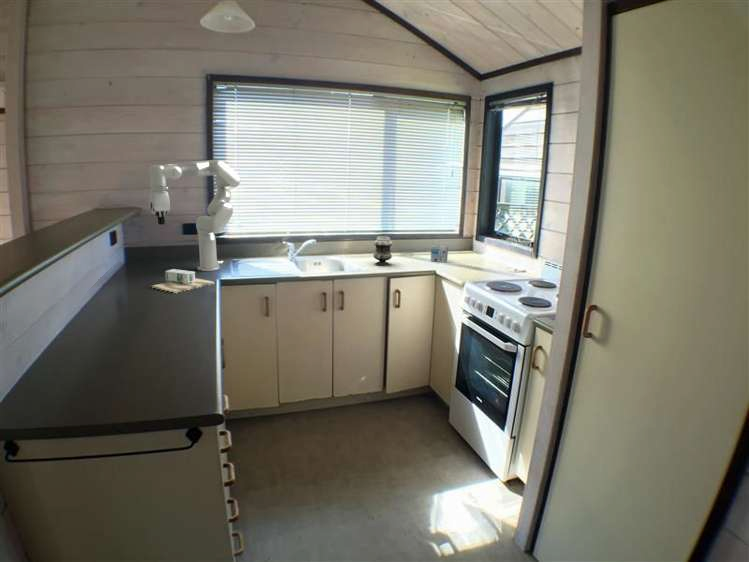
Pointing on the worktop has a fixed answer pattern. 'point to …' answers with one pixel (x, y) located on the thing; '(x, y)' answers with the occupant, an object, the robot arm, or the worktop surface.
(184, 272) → the syrup box
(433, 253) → the light bulb box
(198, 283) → the chopping board
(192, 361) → the worktop surface
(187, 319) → the worktop surface
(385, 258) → the apothecary jar
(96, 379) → the worktop surface
